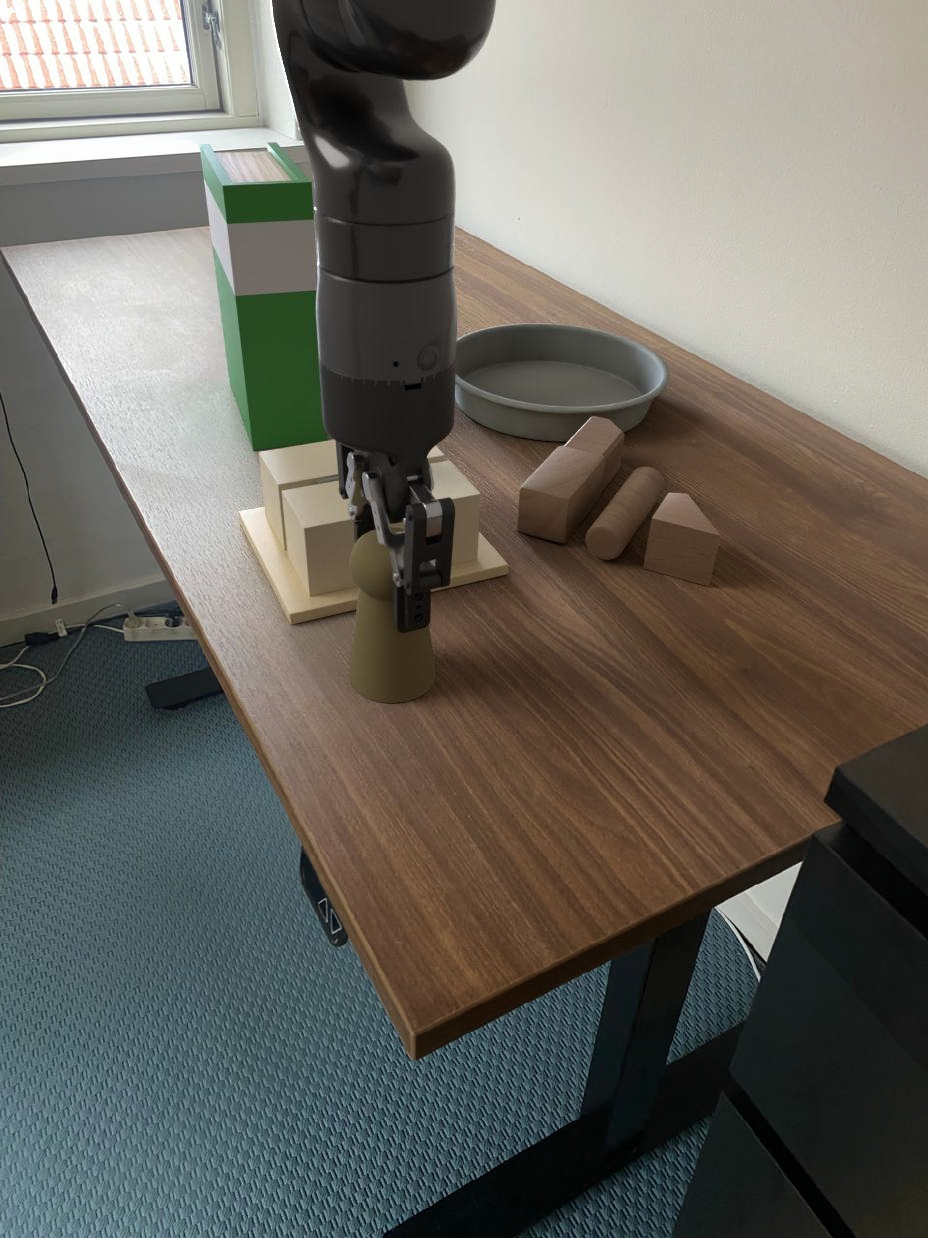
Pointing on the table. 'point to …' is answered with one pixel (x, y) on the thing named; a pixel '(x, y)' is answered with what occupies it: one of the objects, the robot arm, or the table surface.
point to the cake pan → (554, 379)
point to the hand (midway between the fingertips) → (391, 596)
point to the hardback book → (267, 291)
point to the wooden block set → (615, 506)
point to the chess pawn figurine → (384, 633)
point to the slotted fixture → (342, 530)
